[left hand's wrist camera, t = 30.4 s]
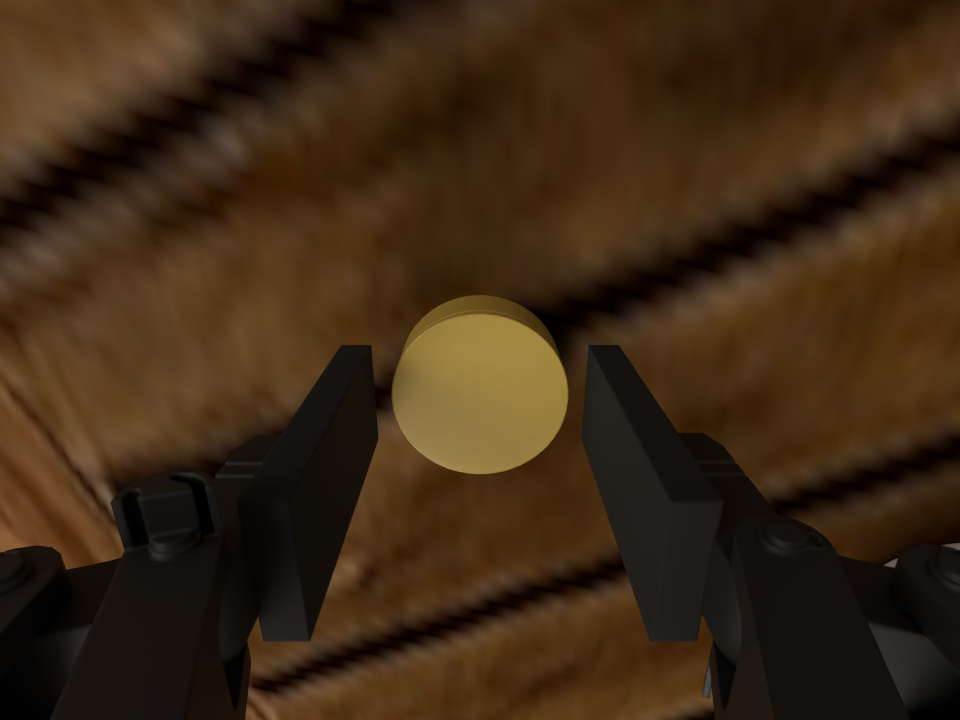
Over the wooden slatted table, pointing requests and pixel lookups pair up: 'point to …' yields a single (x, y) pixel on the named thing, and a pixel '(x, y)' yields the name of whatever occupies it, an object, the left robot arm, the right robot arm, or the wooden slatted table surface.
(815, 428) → the wooden slatted table surface
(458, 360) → the cap
